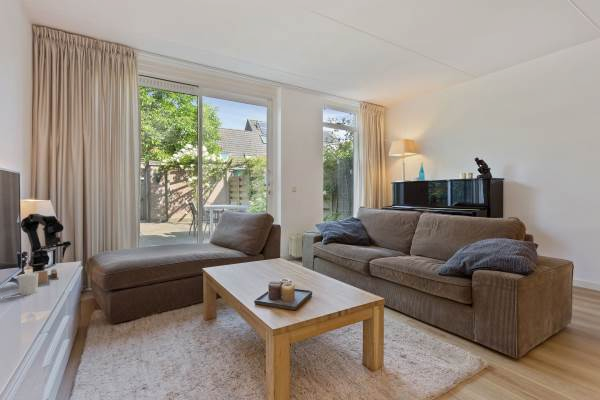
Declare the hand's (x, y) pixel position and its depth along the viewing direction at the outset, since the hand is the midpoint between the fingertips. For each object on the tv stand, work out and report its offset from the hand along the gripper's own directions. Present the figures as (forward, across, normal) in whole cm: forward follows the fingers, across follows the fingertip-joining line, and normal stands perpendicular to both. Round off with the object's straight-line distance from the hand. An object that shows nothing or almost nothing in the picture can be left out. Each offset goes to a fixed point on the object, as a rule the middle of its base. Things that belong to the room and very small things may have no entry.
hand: (53, 260), depth 184 cm
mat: (+13, -8, -8) cm, 17 cm away
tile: (+12, -7, -7) cm, 16 cm away
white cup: (+17, -12, -24) cm, 32 cm away
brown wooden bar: (+11, -1, +6) cm, 12 cm away
